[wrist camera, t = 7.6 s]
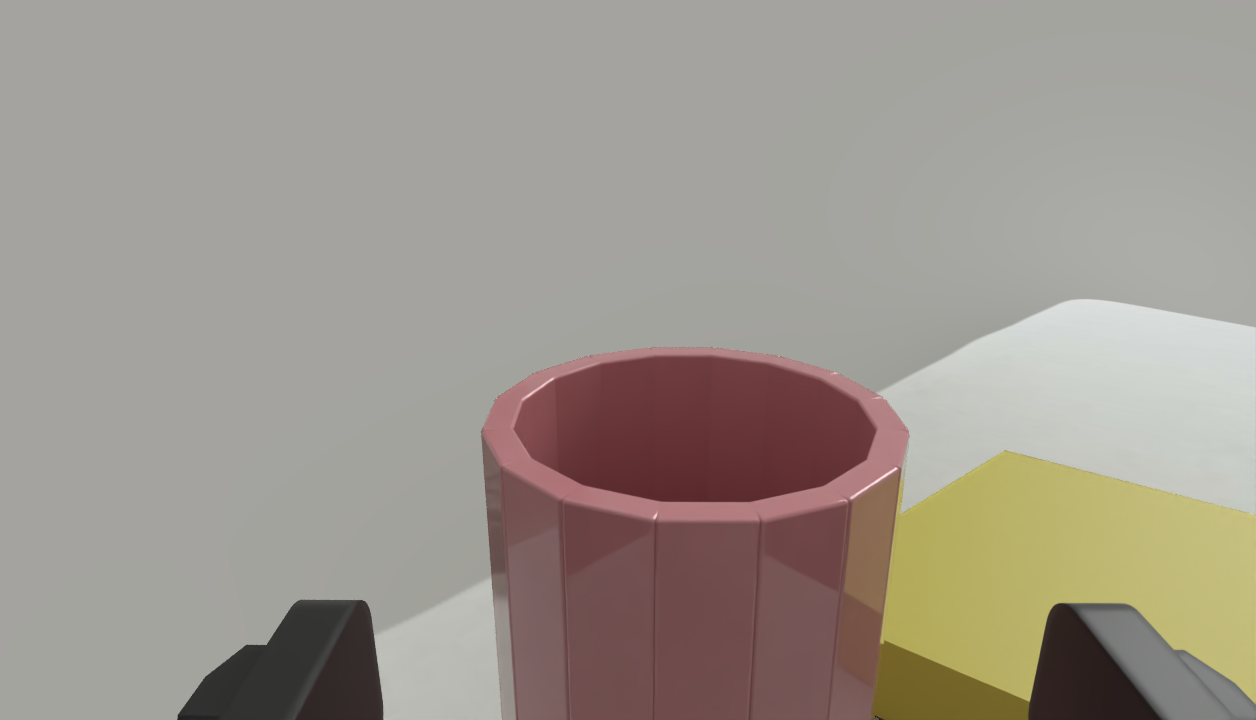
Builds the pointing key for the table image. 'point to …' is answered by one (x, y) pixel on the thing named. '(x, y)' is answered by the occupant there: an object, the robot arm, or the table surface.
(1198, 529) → the flat olive board
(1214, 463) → the table surface
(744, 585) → the cup
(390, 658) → the table surface
